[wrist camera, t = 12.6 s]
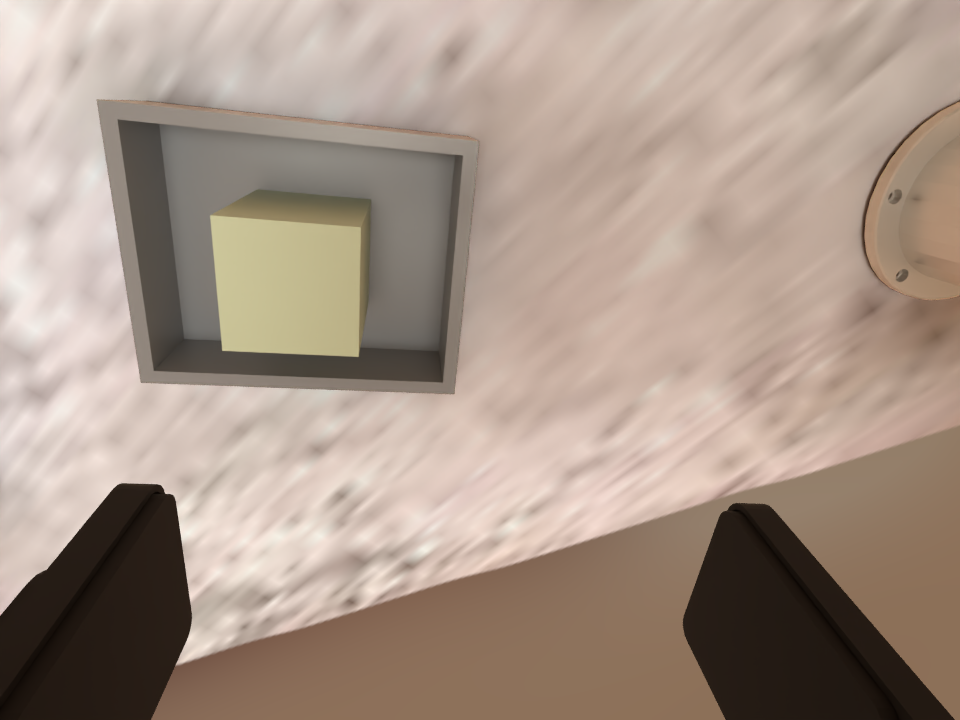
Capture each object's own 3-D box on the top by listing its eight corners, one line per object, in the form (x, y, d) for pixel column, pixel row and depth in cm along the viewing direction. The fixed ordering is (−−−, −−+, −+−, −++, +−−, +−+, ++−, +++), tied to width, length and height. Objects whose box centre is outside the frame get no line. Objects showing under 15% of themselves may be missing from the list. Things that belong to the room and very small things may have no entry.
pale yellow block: (371, 199, 31) (360, 227, 23) (368, 302, 33) (358, 356, 26) (257, 189, 30) (210, 215, 22) (263, 296, 32) (222, 350, 25)
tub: (468, 136, 30) (479, 141, 26) (448, 358, 36) (454, 394, 31) (146, 100, 28) (96, 99, 23) (176, 345, 33) (140, 382, 29)
